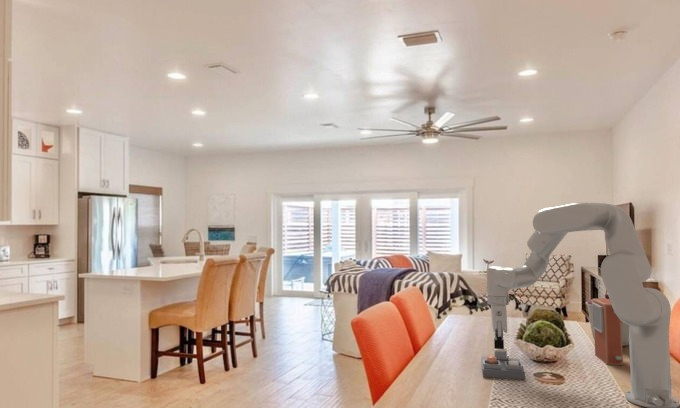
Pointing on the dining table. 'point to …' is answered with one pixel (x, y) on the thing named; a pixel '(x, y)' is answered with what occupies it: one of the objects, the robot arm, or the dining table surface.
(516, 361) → the white button
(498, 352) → the paddle
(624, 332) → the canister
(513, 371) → the switch board
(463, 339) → the dining table surface
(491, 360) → the terracotta button
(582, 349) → the dining table surface
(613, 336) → the control panel
